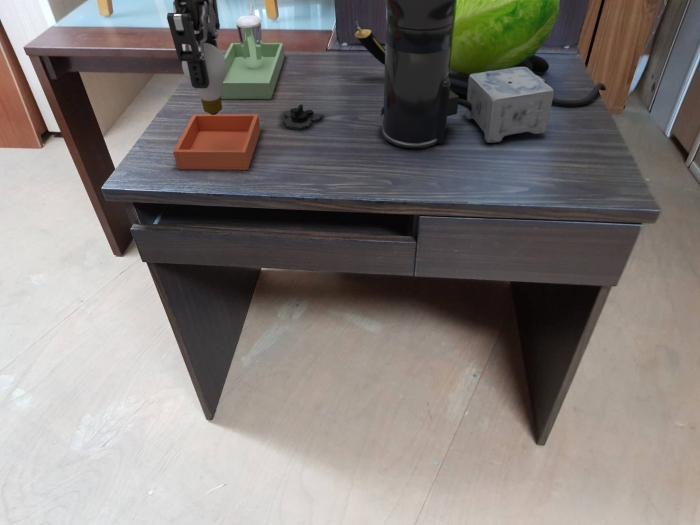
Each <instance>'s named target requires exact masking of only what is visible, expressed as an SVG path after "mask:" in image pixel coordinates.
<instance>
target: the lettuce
mask: <svg viewBox="0 0 700 525" xmlns="http://www.w3.org/2000/svg"><path fill="white" fill-rule="evenodd" d="M560 3H561V0H457V8H456V16H455V25H454V34H453V42H452V52H451V61H450V70H451V71H453V72H456V73H459V74H462V75H465V76H469V75H471V74H476V73H482V72H488V71H496V70H503V69H508V68H513V67H515V66H516V65H518V64H519V63H521V62H523V61H524V60H526V59H528V58H529V57H531V56H533V55H536V53H537V52H538V51H539V50H540V48H542V46H543V45H544V44H545V42H546V41H547V40H548V39H549V37H550V36H551V34H552V31H553V29H554V27H555V25H556V22H557V20H558V17H559V15H560Z"/></svg>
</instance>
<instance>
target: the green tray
mask: <svg viewBox="0 0 700 525" xmlns="http://www.w3.org/2000/svg"><path fill="white" fill-rule="evenodd" d="M284 48H285V47H284V43H283V42H262V55H263V65H262V67H260V68H258V69H249V68H247V67H246V66H245V61H244V57H243V52H242V47H241V43H240V42H230V44H229V46H228V48H227V50H226V52H225V53H224V57H225V59H226V63H227V73H226V77H225V79H224V81H223V84H222V92H221V100H230V99H232V100H271V99H272V98H273V94H274V91H275V88H276V85H277V82H278V79H279V76H280V73H281V70H282V67H283V64H284V61H285V49H284Z"/></svg>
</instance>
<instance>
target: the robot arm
mask: <svg viewBox="0 0 700 525" xmlns="http://www.w3.org/2000/svg"><path fill="white" fill-rule="evenodd" d="M384 1H385V8H386V10H385V11H386V14H385V19H386V21H385V45H384V46H385V47H384V48H385V65H384V81H383V84H384V85H383V87H384V88H383V107H382V108H381V110H380V118H382V128H381V131H382V132H381V134H382V136H383V137H382V138H384V140H386V141H387V142H388V143H390V144H392V145H394V146H397V147H399V148H406V149H423V148H428V147H431V146H434V145H437V144H445V136H446V127H447V119H448V117H449V116H454V115H457V114H458V106H462V107H465V108H466V109H467V108H468V109H469V111H470V112H471V110H472V105H471V103H469V102H468V101H467V100H466V99H461V98H459V97H460V96H459V95H458V94H457V93H456V92H452V91H451V90H450V79H449V74H450V61H451V52H452V42H453V34H454V25H455V16H456V8H457V0H384ZM172 5H173V6H172V8H173V12H167V14H166V21H167V24H168V28H169V31H170V35H171V38H172V42H173V45H174V48H175V52H176V56H177V59H178V61H179V62H182V61H187V65H188V70H189V74H190V79H191V83H190V84H191V87H192V88H194V89H195V88H208V86H209V78H208V72H207V67H206V62H205V54H204V43H208V44H211V45H213V46H215V47H217V48H218V49H219V47H218V43H217V42H218V41H217V39H218V36H219V33H218V31H219V30H220V29H221V23H220V18H219V9H218V0H173V2H172ZM195 32H196V33H195ZM189 47H191V49H192V51H189ZM599 91H607V88H606V85H605V84H604V83H602V82H599V83H597V84H596V85H595V86H594V88H593V89H592V91H591V92H590V93H589V94H588V95H587V96H586V97H584V98H581V99H580V98H579V99H562V98H556V97H553V100H552V104H551V105H558V106H559V105H560V106H569V107H570V106H581V105H584V104H587V103H589V102H590V101H592V100H593V99H594V98H595V97H596V96H597V94H598V92H599Z"/></svg>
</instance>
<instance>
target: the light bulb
mask: <svg viewBox="0 0 700 525" xmlns="http://www.w3.org/2000/svg"><path fill="white" fill-rule="evenodd" d="M217 47H218V46H217ZM217 47H215V46H213V45H211V44H208V43H204V54H205V62H206V67H207V72H208V78H209V86H208V88H194V89H195V91H196V93H197V95H198V97H200V101H201V105H202V108H203V111H204V112H205V113H206V114H211V115H216V114H220V112H221V111H222V110H223V103H222V99H221V92H222V84H223V81H224V79H225V77H226V73H227V63H226V59H225V57H224V56H225V54H223V52H222V51H221V50H220V49H219V47H218V48H217ZM189 51H192V49H191V46H189ZM181 68H182V72H183V74H184V76H185V79H186V80H187V81H188V82H189V84H191V79H190V74H189V70H188V65H187V61H181Z"/></svg>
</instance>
